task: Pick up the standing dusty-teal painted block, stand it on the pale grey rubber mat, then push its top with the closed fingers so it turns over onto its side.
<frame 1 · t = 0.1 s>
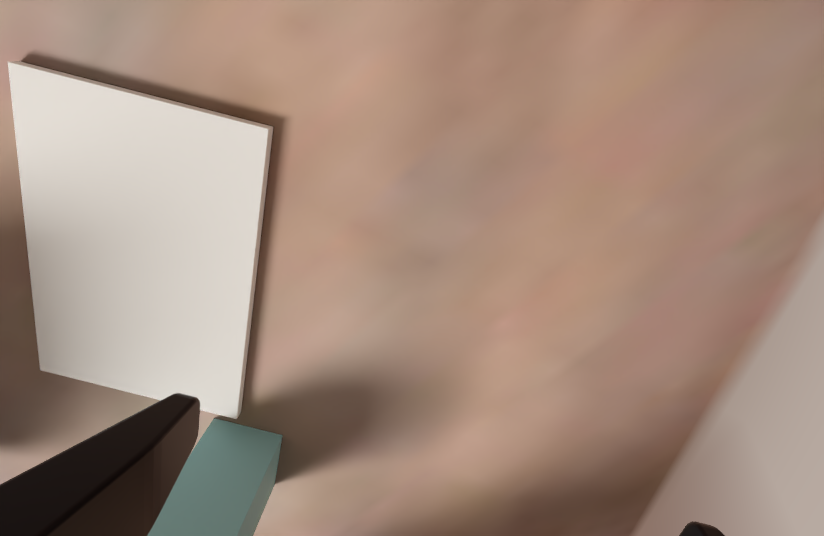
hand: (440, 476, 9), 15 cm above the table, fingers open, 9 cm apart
mat: (145, 261, 25), on the table
block: (245, 452, 29), on the table
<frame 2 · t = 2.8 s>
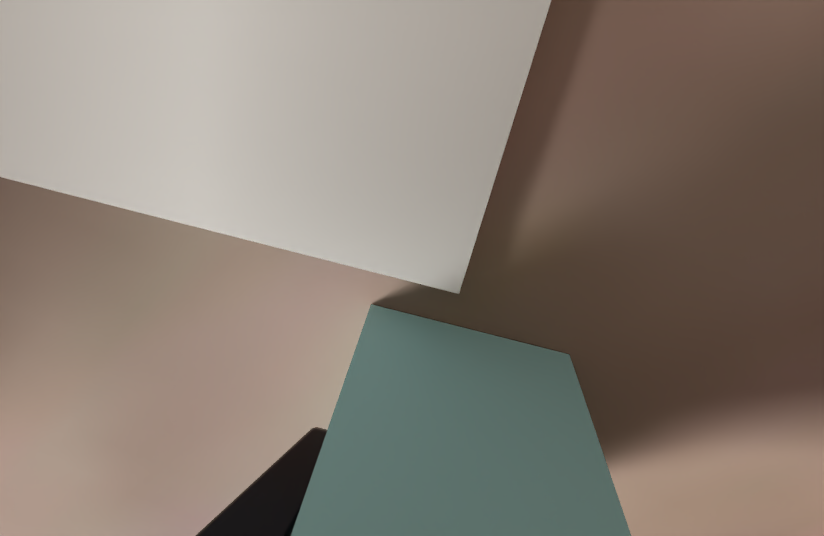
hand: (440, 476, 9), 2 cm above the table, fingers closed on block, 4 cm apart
block: (444, 407, 11), on the table, touching gripper
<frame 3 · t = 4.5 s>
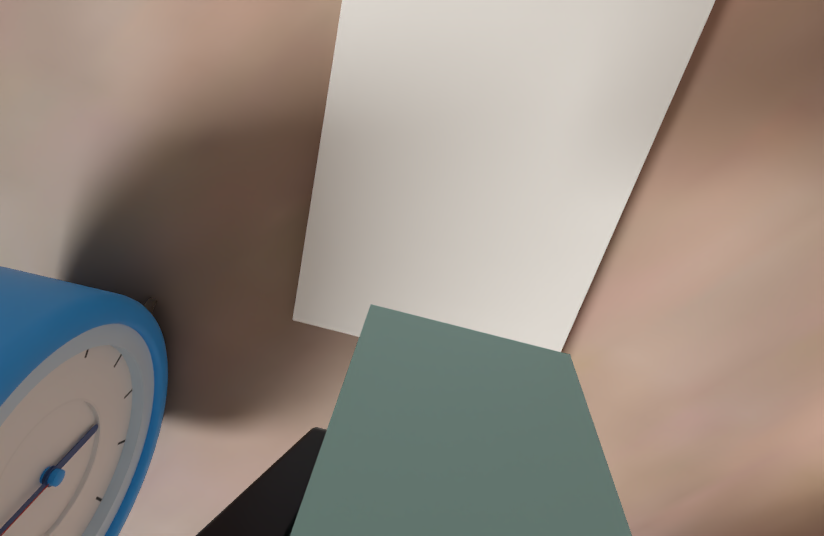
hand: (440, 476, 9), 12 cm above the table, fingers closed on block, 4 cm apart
mat: (473, 165, 18), on the table
block: (444, 407, 11), point 10 cm above the table, touching gripper
alarm clock: (112, 349, 24), on the table
when the fingers open (3 cm above the table, at t = 6.2 s): block stays where it is, resting on mat.
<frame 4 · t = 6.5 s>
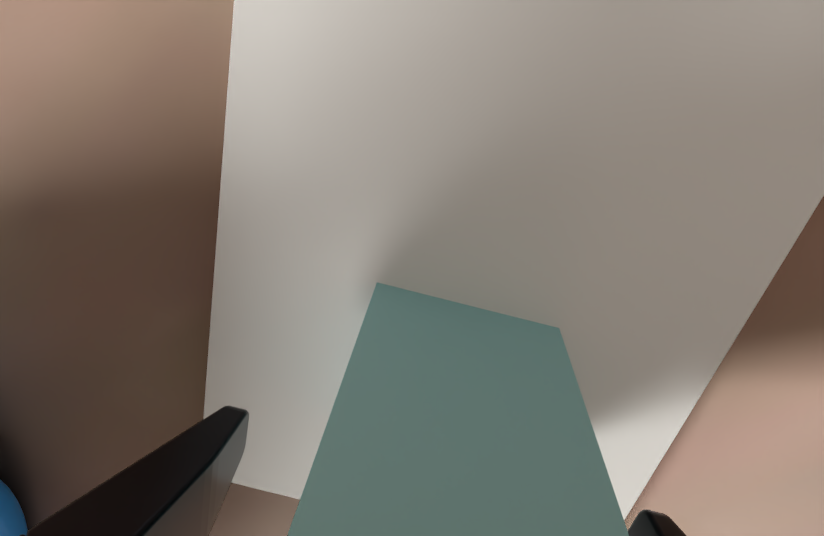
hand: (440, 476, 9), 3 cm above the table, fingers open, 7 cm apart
mat: (481, 252, 11), on the table
block: (444, 379, 11), point 1 cm above the table, touching mat
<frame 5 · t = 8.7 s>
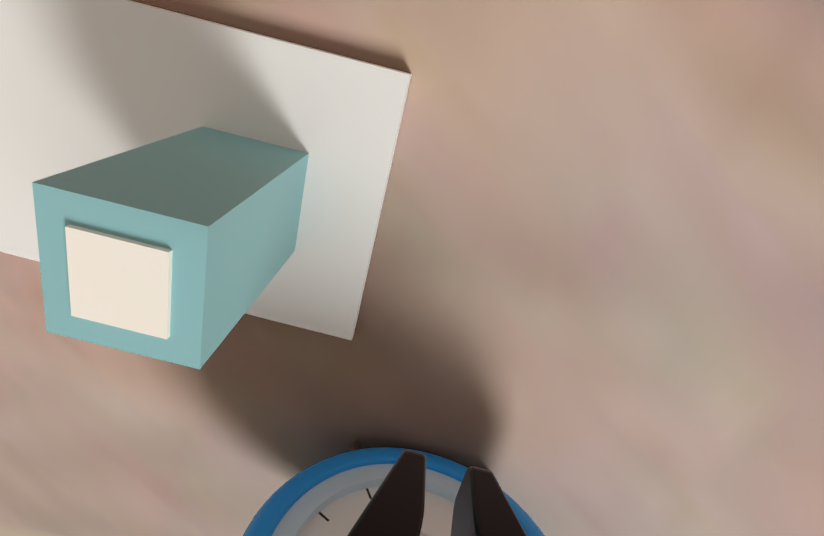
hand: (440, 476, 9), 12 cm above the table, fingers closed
mat: (182, 167, 20), on the table
block: (250, 191, 19), point 1 cm above the table, touching mat
alarm clock: (412, 485, 26), on the table
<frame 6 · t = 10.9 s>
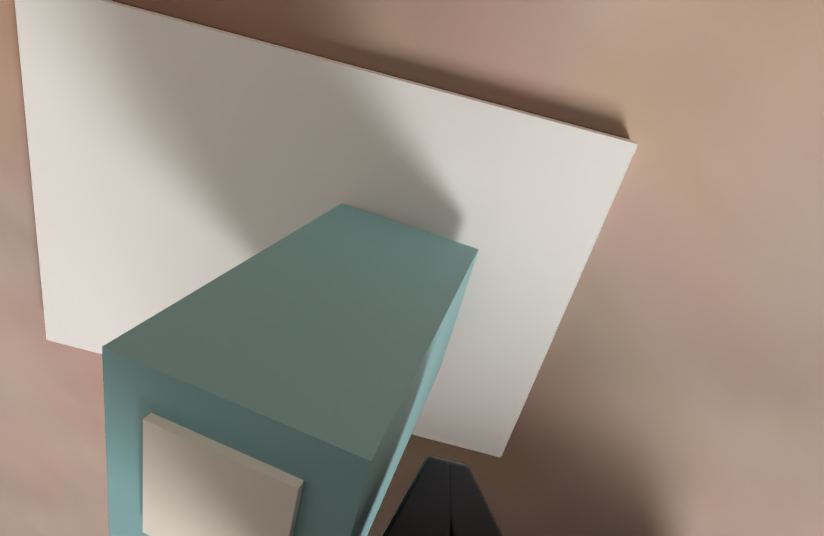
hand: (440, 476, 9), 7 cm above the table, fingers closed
mat: (303, 249, 15), on the table
block: (392, 288, 14), point 1 cm above the table, tilted 11°, touching mat
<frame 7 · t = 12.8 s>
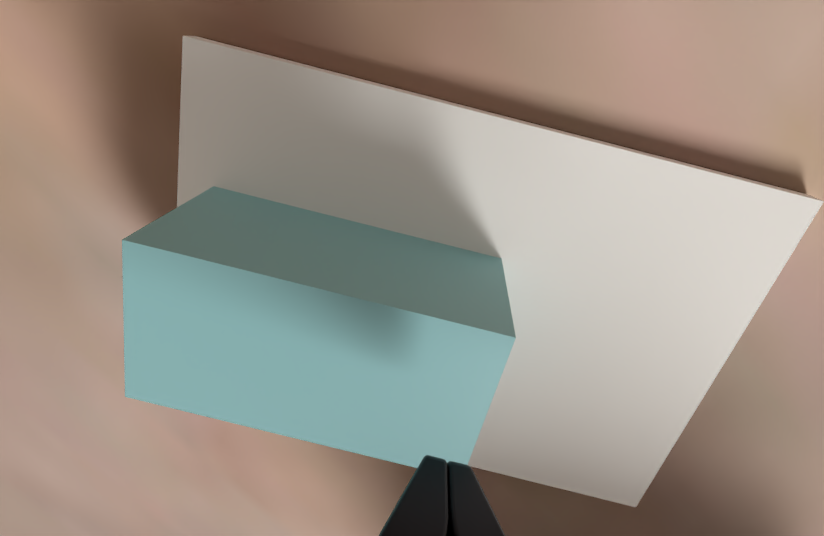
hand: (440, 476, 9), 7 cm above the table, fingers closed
mat: (447, 301, 15), on the table
block: (483, 360, 13), point 3 cm above the table, tilted 90°, touching mat
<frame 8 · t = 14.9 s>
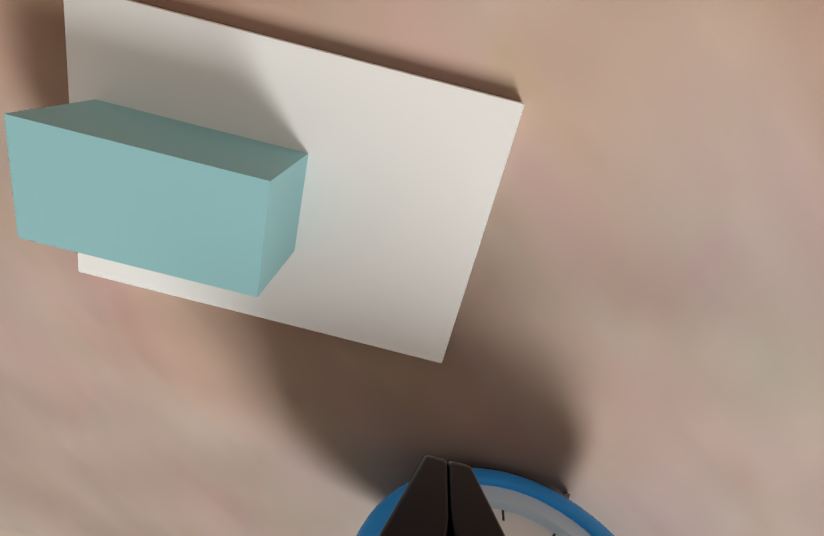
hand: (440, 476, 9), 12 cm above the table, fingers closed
mat: (281, 193, 20), on the table
block: (284, 221, 17), point 3 cm above the table, tilted 90°, touching mat
alarm clock: (487, 504, 26), on the table
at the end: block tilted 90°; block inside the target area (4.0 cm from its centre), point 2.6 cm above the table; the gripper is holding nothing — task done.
